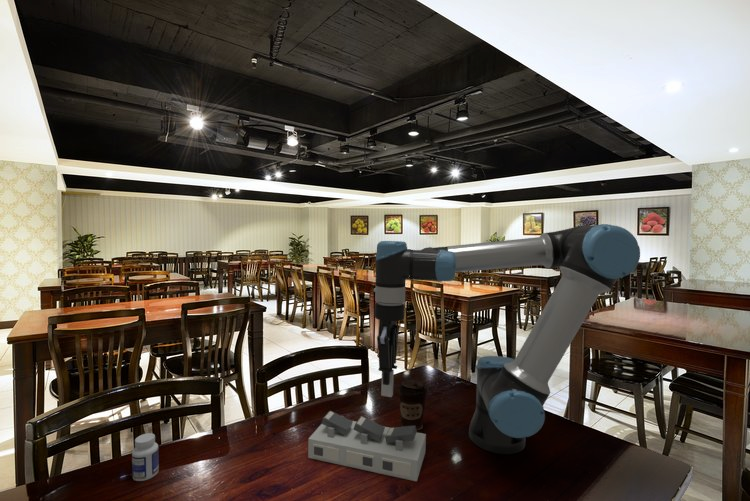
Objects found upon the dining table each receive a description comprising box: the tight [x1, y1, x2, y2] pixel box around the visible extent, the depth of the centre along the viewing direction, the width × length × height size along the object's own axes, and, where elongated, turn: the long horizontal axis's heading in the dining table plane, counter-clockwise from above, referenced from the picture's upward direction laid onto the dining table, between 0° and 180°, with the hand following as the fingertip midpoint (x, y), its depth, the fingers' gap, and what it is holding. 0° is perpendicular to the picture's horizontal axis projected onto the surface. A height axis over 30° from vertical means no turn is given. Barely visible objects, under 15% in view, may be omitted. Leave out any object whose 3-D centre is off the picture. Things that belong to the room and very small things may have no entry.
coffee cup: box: [398, 379, 428, 431], centre depth 110 cm, size 9×8×13 cm
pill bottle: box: [131, 432, 160, 482], centre depth 87 cm, size 5×5×9 cm
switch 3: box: [385, 425, 418, 443], centre depth 93 cm, size 7×5×3 cm
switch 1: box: [320, 410, 354, 435], centre depth 98 cm, size 7×5×3 cm
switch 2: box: [353, 415, 386, 442], centre depth 95 cm, size 7×5×3 cm
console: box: [307, 415, 427, 482], centre depth 95 cm, size 28×12×7 cm, turn 73°
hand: (387, 395), depth 93 cm, fingers closed
